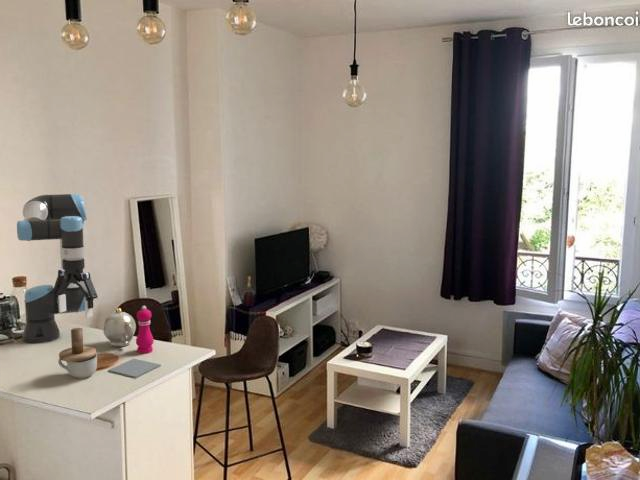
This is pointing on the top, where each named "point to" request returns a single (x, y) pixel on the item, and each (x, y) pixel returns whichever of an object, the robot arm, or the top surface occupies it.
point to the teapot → (119, 328)
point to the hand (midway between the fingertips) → (75, 314)
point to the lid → (77, 348)
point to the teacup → (81, 367)
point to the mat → (134, 368)
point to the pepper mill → (144, 332)
